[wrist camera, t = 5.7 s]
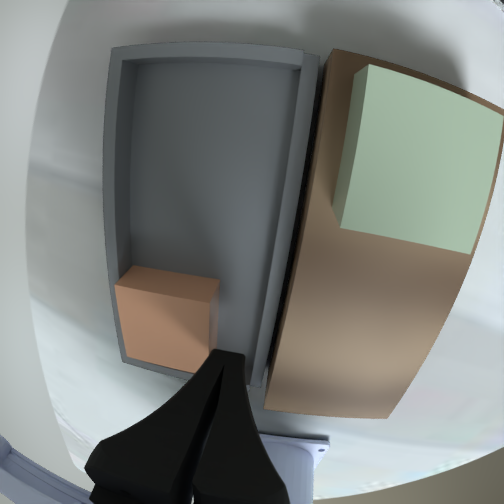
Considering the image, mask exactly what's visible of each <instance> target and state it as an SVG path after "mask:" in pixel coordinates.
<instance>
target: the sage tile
mask: <svg viewBox="0 0 504 504" xmlns="http://www.w3.org/2000/svg"><path fill="white" fill-rule="evenodd" d="M503 118H504V116H502V115H500V114H499V113H497V112H495V111H493V110H491V109H489V108H487V107H485V106H483V105H481V104H478V103H476V102H474V101H472V100H470V99H468V98H465V97H463V96H461V95H458V94H456V93H454V92H451V91H449V90H446V89H444V88H441V87H439V86H436V85H434V84H431V83H428V82H425V81H423V80H420V79H417V78H414V77H411V76H408V75H405V74H402V73H399V72H395V71H392V70H389V69H385V68H382V67H378V66H374V65H371V64H368V65H367V66H365V67H364V68H363V69H361V70H360V71H358V72H357V73H356V74H354V80H353V87H352V94H351V101H350V108H349V115H348V121H347V128H346V134H345V140H344V146H343V151H342V157H341V163H340V168H339V173H338V179H337V184H336V189H335V194H334V199H333V204H332V209H333V212H334V214H335V217H336V219H337V221H338V224H339V226H340V228H343V229H349V230H354V231H359V232H365V233H370V234H375V235H380V236H385V237H390V238H395V239H400V240H405V241H410V242H415V243H420V244H424V245H429V246H434V247H438V248H443V249H448V250H452V251H457V252H461V253H465V254H471V251H472V249H473V246H474V243H475V240H476V237H477V234H478V231H479V228H480V224H481V221H482V218H483V214H484V211H485V207H486V204H487V200H488V196H489V192H490V188H491V184H492V180H493V176H494V171H495V167H496V162H497V157H498V151H499V146H500V139H501V133H502V126H503Z"/></svg>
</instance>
